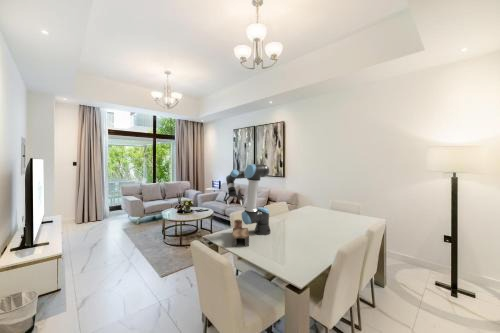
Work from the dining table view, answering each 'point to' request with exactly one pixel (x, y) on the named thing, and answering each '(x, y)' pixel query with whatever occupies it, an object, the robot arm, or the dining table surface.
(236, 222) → the cord reel
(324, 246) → the dining table surface
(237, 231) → the bridge shelf
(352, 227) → the dining table surface
